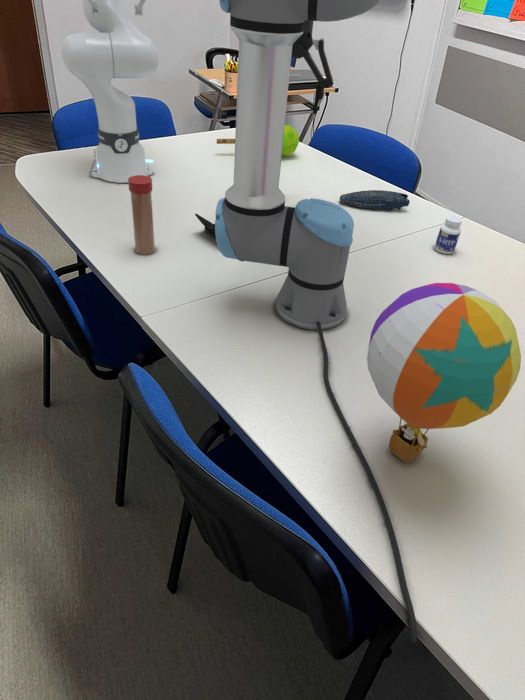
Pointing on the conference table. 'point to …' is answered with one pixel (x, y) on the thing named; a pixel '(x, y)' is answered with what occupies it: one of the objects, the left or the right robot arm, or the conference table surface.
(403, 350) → the toy
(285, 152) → the decorative tree
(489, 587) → the conference table surface
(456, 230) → the pill bottle
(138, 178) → the lid
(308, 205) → the right robot arm
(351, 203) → the fish model
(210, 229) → the handheld gaming console
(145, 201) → the jar
